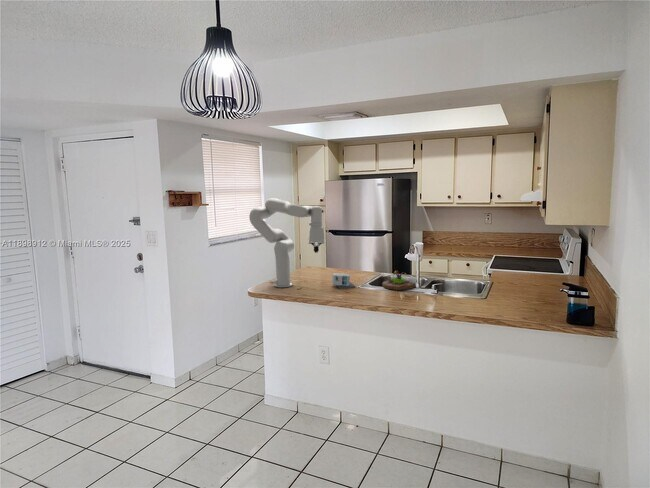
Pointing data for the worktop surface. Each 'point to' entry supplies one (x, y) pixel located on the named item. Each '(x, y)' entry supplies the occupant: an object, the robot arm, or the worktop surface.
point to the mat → (346, 286)
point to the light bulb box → (340, 279)
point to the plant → (398, 283)
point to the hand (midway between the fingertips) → (316, 252)
